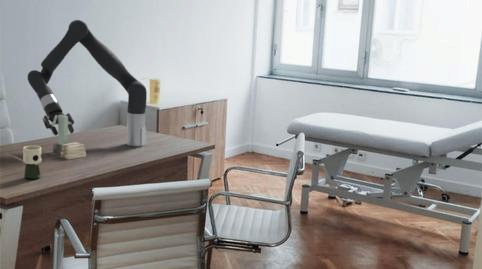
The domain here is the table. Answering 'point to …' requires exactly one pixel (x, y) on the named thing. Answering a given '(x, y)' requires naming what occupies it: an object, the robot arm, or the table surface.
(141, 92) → the robot arm
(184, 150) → the table surface
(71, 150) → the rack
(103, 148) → the table surface
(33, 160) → the character mug
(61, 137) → the slat
